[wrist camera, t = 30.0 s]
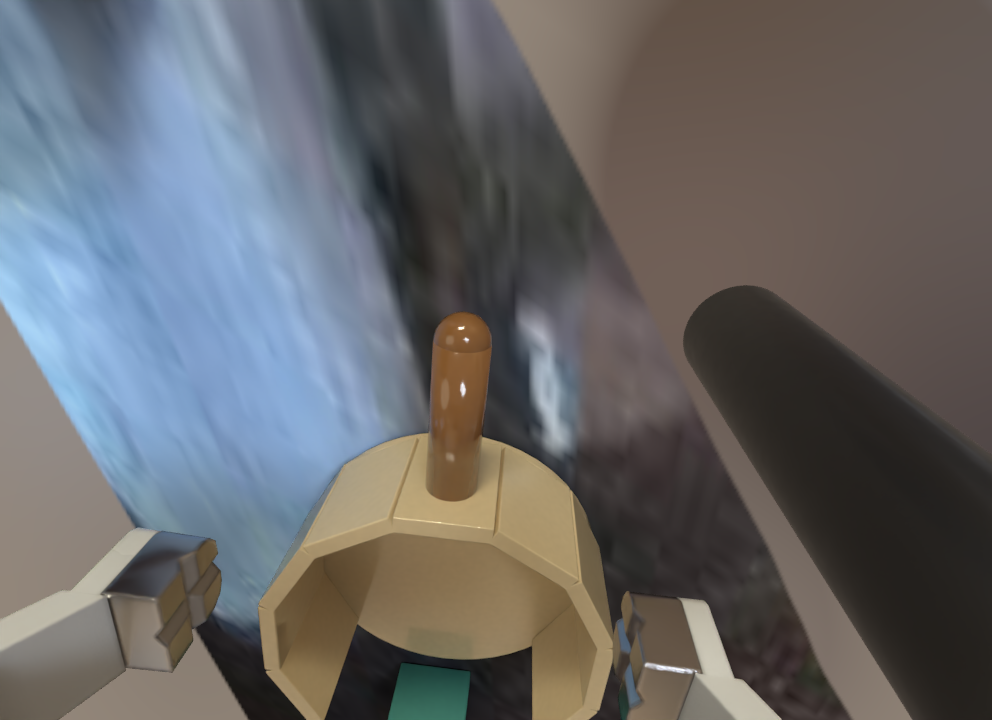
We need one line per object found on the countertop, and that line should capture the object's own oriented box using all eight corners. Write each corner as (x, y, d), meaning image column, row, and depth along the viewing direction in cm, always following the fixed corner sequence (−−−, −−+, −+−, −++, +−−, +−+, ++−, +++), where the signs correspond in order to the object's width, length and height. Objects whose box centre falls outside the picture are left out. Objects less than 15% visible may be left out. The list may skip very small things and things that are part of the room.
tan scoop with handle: (651, 301, 22) (692, 364, 16) (570, 664, 30) (579, 785, 25) (300, 262, 22) (223, 311, 16) (319, 633, 30) (272, 747, 25)
